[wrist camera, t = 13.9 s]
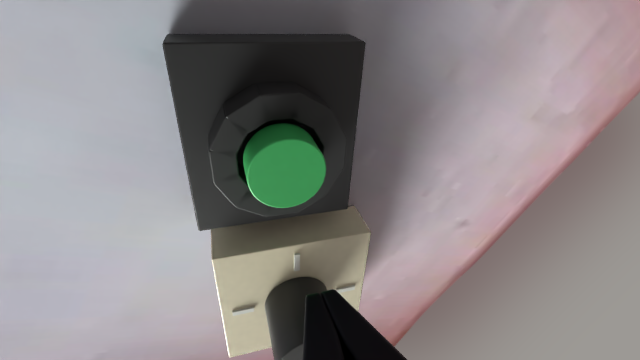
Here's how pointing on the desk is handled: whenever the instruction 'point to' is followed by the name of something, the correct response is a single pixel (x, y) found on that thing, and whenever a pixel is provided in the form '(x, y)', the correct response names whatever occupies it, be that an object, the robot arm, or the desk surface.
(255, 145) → the power button
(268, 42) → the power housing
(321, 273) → the panel
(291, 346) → the timer knob
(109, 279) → the desk surface
